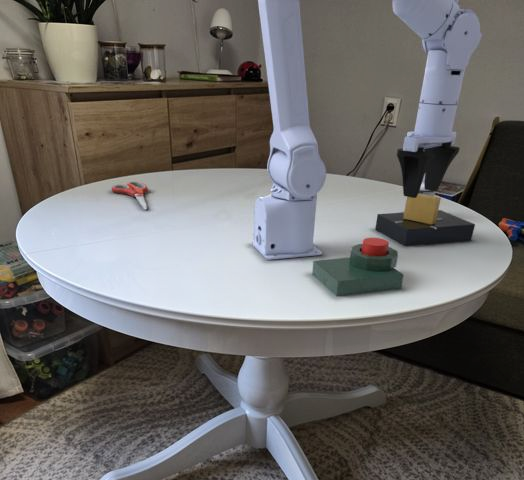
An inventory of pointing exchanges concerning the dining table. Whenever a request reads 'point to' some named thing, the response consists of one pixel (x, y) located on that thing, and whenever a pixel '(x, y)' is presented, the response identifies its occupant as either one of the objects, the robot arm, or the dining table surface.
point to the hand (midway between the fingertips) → (420, 193)
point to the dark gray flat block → (424, 229)
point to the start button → (375, 247)
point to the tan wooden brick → (422, 208)
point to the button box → (359, 273)
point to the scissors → (133, 191)
